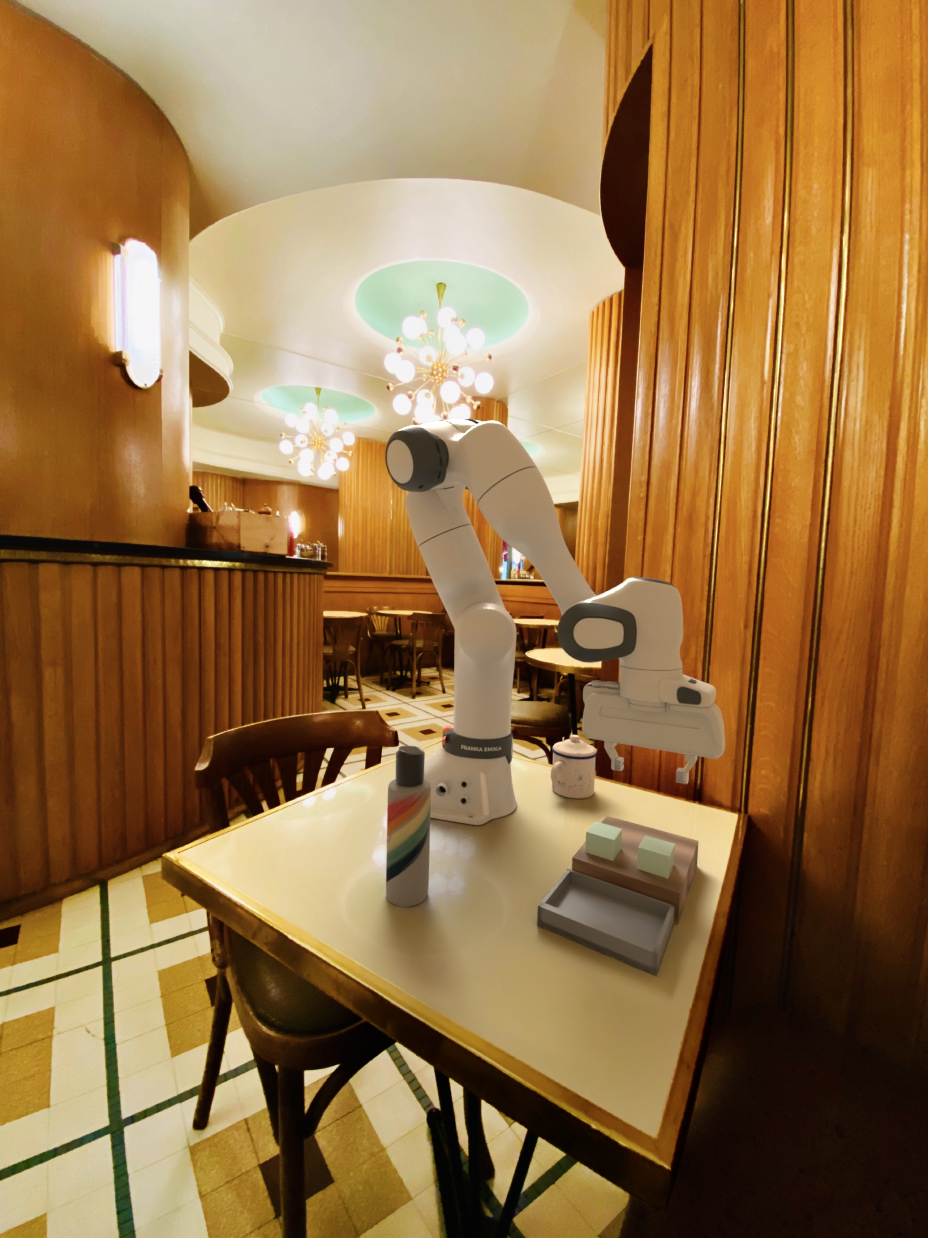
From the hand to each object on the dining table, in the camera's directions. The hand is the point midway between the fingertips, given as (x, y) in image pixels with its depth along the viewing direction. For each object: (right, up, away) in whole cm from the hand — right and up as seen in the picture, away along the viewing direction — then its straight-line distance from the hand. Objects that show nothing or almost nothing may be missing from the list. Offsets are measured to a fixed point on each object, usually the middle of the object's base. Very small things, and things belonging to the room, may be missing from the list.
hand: (648, 775), depth 74 cm
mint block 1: (-8, -10, -4) cm, 13 cm away
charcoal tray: (-11, -14, -14) cm, 22 cm away
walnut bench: (-3, -14, -3) cm, 14 cm away
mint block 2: (-2, -10, -8) cm, 13 cm away
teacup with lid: (-6, -12, +27) cm, 30 cm away
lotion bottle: (-36, -13, -9) cm, 39 cm away
